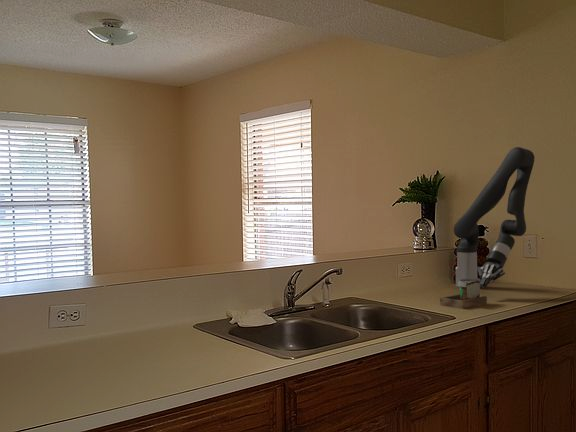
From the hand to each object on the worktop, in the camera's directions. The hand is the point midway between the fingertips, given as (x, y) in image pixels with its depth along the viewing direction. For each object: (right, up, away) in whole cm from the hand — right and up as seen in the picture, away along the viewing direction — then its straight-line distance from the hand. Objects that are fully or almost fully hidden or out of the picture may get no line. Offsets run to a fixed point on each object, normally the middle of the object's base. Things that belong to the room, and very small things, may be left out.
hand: (482, 286), depth 228 cm
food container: (-9, -6, -8) cm, 14 cm away
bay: (-10, -6, -8) cm, 15 cm away
